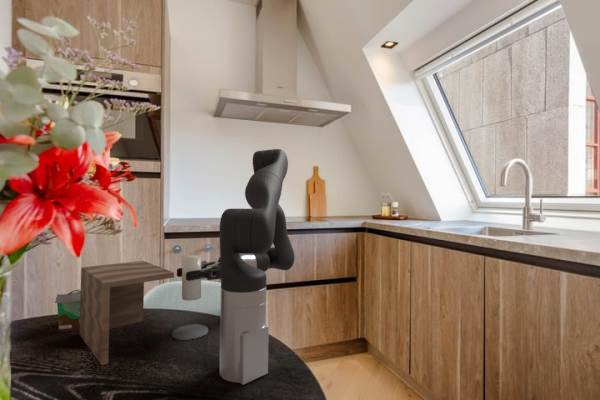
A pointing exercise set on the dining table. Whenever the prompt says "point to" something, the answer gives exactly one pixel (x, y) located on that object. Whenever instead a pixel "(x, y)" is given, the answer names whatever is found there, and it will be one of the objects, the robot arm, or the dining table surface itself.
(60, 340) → the dining table surface
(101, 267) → the walnut cubby
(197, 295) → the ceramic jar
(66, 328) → the food container
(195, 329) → the grey coaster
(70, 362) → the dining table surface
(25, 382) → the dining table surface
